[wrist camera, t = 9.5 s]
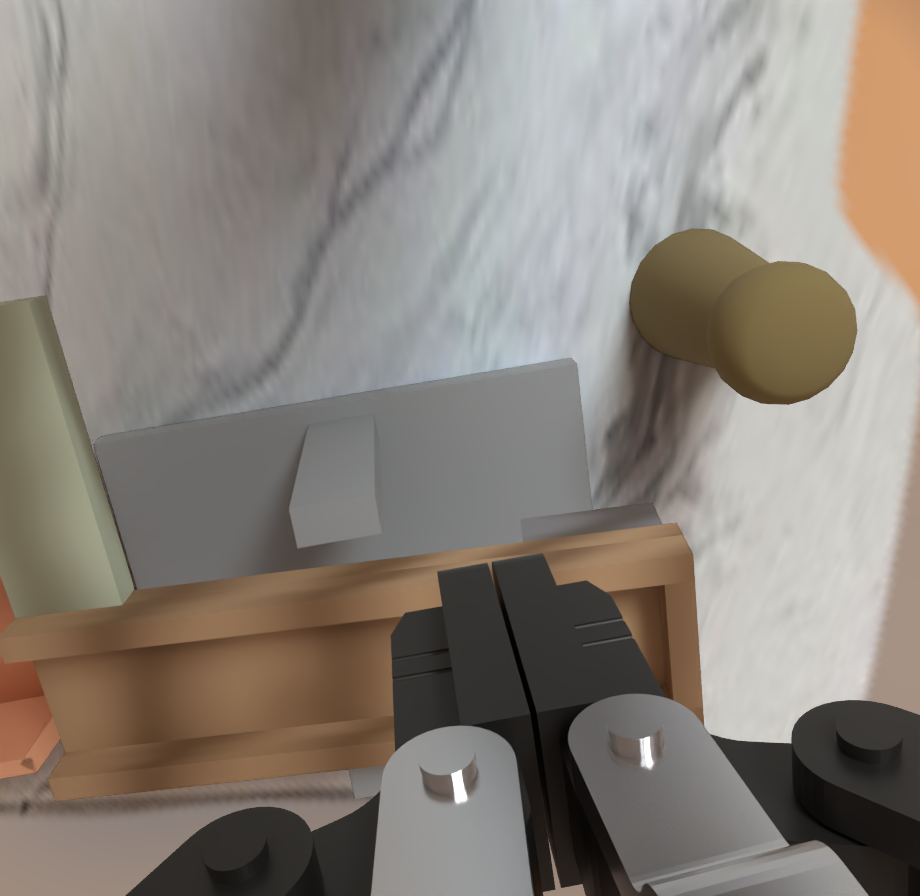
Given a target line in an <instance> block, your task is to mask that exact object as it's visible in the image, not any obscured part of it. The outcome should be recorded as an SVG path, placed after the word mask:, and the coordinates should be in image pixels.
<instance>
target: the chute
mask: <svg viewBox="0 0 920 896" xmlns="http://www.w3.org/2000/svg"><path fill="white" fill-rule="evenodd" d="M520 520H521V529H522V538H523V542H518V543H510V544H502V545H494V546H486V547H478V548H470V549H462V550H454V551H446V552H438V553H430V554H422V555H414V556H406V557H397V558H389V559H381V560H373V561H365V562H357V563H349V564H341V565H333V566H325V567H317V568H309V569H301V570H293V571H285V572H277V573H269V574H260V575H252V576H244V577H236V578H228V579H220V580H212V581H204V582H196V583H188V584H180V585H172V586H164V587H156V588H148V589H140V590H134V585H133V582H132V579H131V575H130V572H129V569H128V565H127V562H126V559H125V556H124V552H123V549H122V546H121V542H120V539H119V536H118V532H117V529H116V526H115V522H114V519H113V516H112V513H111V509H110V506H109V503H108V499H107V496H106V493H105V489H104V486H103V483H102V479H101V476H100V473H99V469H98V466H97V463H96V460H95V456H94V453H93V450H92V446H91V443H90V440H89V436H88V433H87V430H86V426H85V423H84V420H83V417H82V413H81V410H80V407H79V403H78V400H77V397H76V393H75V390H74V387H73V383H72V380H71V377H70V373H69V370H68V367H67V364H66V360H65V357H64V354H63V350H62V347H61V344H60V340H59V337H58V334H57V330H56V327H55V324H54V320H53V317H52V314H51V311H50V307H49V304H48V301H47V297H46V296H39V297H32V298H26V299H19V300H12V301H5V302H0V576H1V579H2V582H3V585H4V587H5V590H6V593H7V596H8V599H9V601H10V604H11V607H12V610H13V613H14V615H15V619H14V620H13V622H12V623H11V624H10V625H9V626H8V627H7V628H6V629H5V630H4V631H3V632H2V633H1V634H0V652H1V655H2V658H3V661H4V663H5V664H8V663H16V662H24V661H33V663H34V666H35V669H36V672H37V675H38V677H39V680H40V683H41V686H42V689H43V692H44V694H45V697H46V700H47V703H48V706H49V708H50V711H51V714H52V717H53V720H54V722H55V725H56V728H57V731H58V734H59V736H60V739H61V742H62V745H63V748H64V750H65V754H64V755H63V757H62V758H61V760H60V761H59V763H58V764H57V766H56V767H55V769H54V770H53V772H52V773H51V775H50V776H49V778H48V779H47V780H48V783H49V785H50V788H51V791H52V793H53V796H54V799H55V801H62V800H71V799H80V798H89V797H99V796H108V795H117V794H126V793H135V792H145V791H154V790H163V789H172V788H181V787H191V786H200V785H209V784H218V783H227V782H237V781H246V780H255V779H264V778H273V777H283V776H292V775H301V774H310V773H320V772H329V771H338V770H347V769H356V768H366V767H375V766H384V765H386V764H387V762H388V761H389V759H390V758H391V756H392V755H393V754H394V753H395V736H394V710H393V684H392V683H393V679H392V658H391V634H392V632H393V631H394V629H395V628H396V626H397V624H398V623H399V621H400V620H401V618H402V617H403V615H404V613H406V612H412V611H417V610H423V609H429V608H434V607H440V606H442V601H441V595H440V588H439V582H438V575H437V571H442V570H448V569H453V568H459V567H465V566H470V565H476V564H482V563H488V565H489V569H490V572H491V576H492V579H493V574H492V561H498V560H504V559H509V558H515V557H521V556H526V555H532V554H538V553H543V554H544V556H545V559H546V561H547V563H548V566H549V568H550V570H551V573H552V575H553V577H554V580H555V582H556V584H557V585H563V584H569V583H574V582H580V581H586V580H587V581H589V582H590V583H592V584H593V585H595V586H597V587H598V588H600V589H601V590H603V591H604V592H606V593H608V594H609V595H611V596H612V598H613V600H614V602H615V604H616V606H617V607H618V609H619V611H620V613H621V615H622V617H623V621H625V622H626V624H627V626H628V628H629V630H630V632H631V633H632V637H633V639H635V641H636V643H637V644H638V646H639V648H640V650H641V652H642V654H643V656H644V657H645V659H646V661H647V663H648V665H649V667H650V669H651V670H652V672H653V674H654V676H655V678H656V680H657V682H658V683H659V685H660V687H661V689H662V691H663V693H664V695H665V696H666V698H668V699H670V700H673V701H675V702H678V703H680V704H681V705H683V706H685V707H686V708H688V709H689V710H690V711H692V712H693V713H694V714H695V715H696V716H697V718H698V719H699V720H700V721H701V723H702V724H703V726H704V716H703V701H702V685H701V670H700V654H699V638H698V623H697V607H696V592H695V576H694V561H693V553H692V551H691V549H690V547H689V545H688V544H687V542H686V540H685V538H684V536H683V534H682V532H681V530H680V528H679V526H678V524H677V523H671V524H662V522H661V520H660V518H659V516H658V514H657V512H656V510H655V507H654V505H653V503H644V504H636V505H628V506H620V507H612V508H604V509H596V510H589V511H581V512H573V513H565V514H557V515H549V516H541V517H533V518H525V519H520ZM493 583H494V581H493Z"/></svg>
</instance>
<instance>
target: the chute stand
mask: <svg viewBox="0 0 920 896" xmlns="http://www.w3.org/2000/svg"><path fill="white" fill-rule="evenodd" d="M94 448H95V451H96V454H97V458H98V461H99V464H100V468H101V471H102V474H103V478H104V481H105V484H106V487H107V491H108V494H109V497H110V501H111V504H112V507H113V511H114V514H115V517H116V521H117V524H118V527H119V531H120V534H121V537H122V541H123V544H124V547H125V551H126V554H127V557H128V561H129V564H130V567H131V571H132V574H133V577H134V580H135V584H136V587H137V590H140V589H148V588H156V587H164V586H172V585H180V584H188V583H196V582H204V581H212V580H220V579H228V578H236V577H244V576H252V575H260V574H269V573H277V572H285V571H293V570H301V569H309V568H317V567H325V566H333V565H341V564H349V563H357V562H365V561H373V560H381V559H389V558H397V557H406V556H414V555H422V554H430V553H438V552H446V551H454V550H462V549H470V548H478V547H486V546H494V545H502V544H510V543H518V542H523V538H522V529H521V520H520V519H525V518H533V517H541V516H549V515H557V514H565V513H573V512H581V511H589V510H592V502H591V492H590V483H589V473H588V464H587V454H586V444H585V435H584V425H583V416H582V406H581V397H580V387H579V377H578V368H577V363H576V362H575V361H574V360H573V359H572V358H567V359H561V360H555V361H549V362H543V363H537V364H531V365H525V366H519V367H513V368H507V369H501V370H495V371H489V372H483V373H477V374H471V375H465V376H459V377H453V378H447V379H441V380H435V381H429V382H423V383H417V384H411V385H405V386H399V387H393V388H387V389H381V390H375V391H369V392H363V393H357V394H351V395H345V396H339V397H333V398H327V399H321V400H315V401H309V402H303V403H297V404H291V405H285V406H279V407H273V408H267V409H261V410H255V411H249V412H243V413H237V414H231V415H225V416H219V417H213V418H207V419H201V420H195V421H189V422H183V423H177V424H171V425H165V426H159V427H153V428H147V429H141V430H135V431H129V432H123V433H117V434H111V435H105V436H101V437H100V438H99V439H98V440H97V441H96V442H95V443H94ZM385 766H386V765H384V766H375V767H366V768H356V769H348V770H349V775H350V779H351V783H352V788H353V792H354V796H355V799H360V798H365V797H370V796H375V795H376V794H377V793H378V792H379V791H380V790H381V782H382V775H383V771H384V768H385Z"/></svg>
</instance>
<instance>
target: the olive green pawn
mask: <svg viewBox="0 0 920 896" xmlns="http://www.w3.org/2000/svg"><path fill="white" fill-rule="evenodd" d="M630 307H631V312H632V317H633V322H634V324H635V326H636V327H637V329H638V331H639V332H640V334H641V336H642V338H643V339H644V340H645V341H646V342H648V343H649V344H650V345H651V346H652V347H653V348H655V349H656V350H657V351H659V352H662V353H664V354H667V355H669V356H672V357H675V358H678V359H682V360H686V361H689V362H693V363H697V364H701V365H704V366H708V367H712V368H716V370H717V372H718V374H719V375H720V377H721V379H722V380H723V381H724V382H726V383H727V384H728V385H729V386H730V387H731V388H733V389H734V390H735V391H736V392H737V393H739V394H740V395H742V396H743V397H746V398H749V399H751V400H754V401H757V402H759V403H763V404H787V405H789V404H793V403H796V402H800V401H803V400H807V399H810V398H811V397H813V396H815V395H816V394H818V393H819V392H821V391H823V390H824V389H826V388H828V387H829V386H830V385H831V384H832V382H833V381H834V380H835V379H836V378H837V377H838V376H839V375H840V374H841V373H842V372H843V371H844V369H845V367H846V365H847V363H848V361H849V359H850V357H851V355H852V353H853V349H854V344H855V339H856V334H857V323H856V314H855V308H854V306H853V304H852V302H851V300H850V298H849V296H848V294H847V292H846V290H845V289H844V288H843V287H842V286H840V285H839V284H838V283H837V282H836V281H835V280H834V279H833V278H832V277H831V276H830V275H829V274H828V273H827V272H825V271H823V270H820V269H818V268H815V267H813V266H811V265H808V264H805V263H800V262H782V261H777V262H774V263H769V262H767V261H766V260H764V259H763V258H761V257H760V256H758V255H757V254H755V253H754V252H752V251H751V250H749V249H748V248H746V247H745V246H743V245H742V244H740V243H739V242H737V241H736V240H734V239H733V238H731V237H729V236H727V235H724V234H722V233H719V232H717V231H715V230H710V229H689V230H686V231H682V232H679V233H675V234H672V235H670V236H669V237H667V238H666V239H664V240H663V241H661V242H660V243H658V244H657V245H655V246H654V247H653V248H652V250H651V251H650V252H649V253H648V254H647V255H646V257H645V258H644V259H643V260H642V261H641V263H640V265H639V267H638V270H637V272H636V274H635V276H634V279H633V281H632V287H631V296H630Z"/></svg>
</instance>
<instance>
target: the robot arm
mask: <svg viewBox="0 0 920 896" xmlns="http://www.w3.org/2000/svg"><path fill="white" fill-rule="evenodd" d="M492 574H493V579H492V576H491V572H490V569H489V565H488V563H482V564H476V565H470V566H465V567H459V568H453V569H448V570H442V571H437V575H438V582H439V588H440V595H441V601H442V606H440V607H434V608H429V609H423V610H417V611H412V612H406V613H404V615H403V617H402V618H401V620H400V621H399V623H398V624H397V626H396V628H395V629H394V631H393V632H392V634H391V658H392V679H393V683H392V684H393V710H394V736H395V753H394V754H393V755H392V756H391V758H390V759H389V761H388V762H387V764H386V766H385V768H384V771H383V775H382V782H381V790H380V791H379V792H378V793H377V794H376V795H375V796H374V798H372V799H371V800H370V801H369V802H367V803H366V804H365V805H364V806H362V807H361V808H359V809H358V810H356V811H354V812H353V813H351V814H349V815H347V816H345V817H343V818H341V819H339V820H337V821H334V822H332V823H330V824H328V825H326V826H323V827H321V828H319V829H317V830H314V831H312V832H311V831H310V828H309V827H308V825H307V824H306V822H305V821H304V820H303V819H302V818H301V817H299V816H298V815H296V814H295V813H293V812H291V811H288V810H285V809H282V808H275V807H256V808H249V809H244V810H241V811H237V812H233V813H231V814H228V815H226V816H223V817H221V818H219V819H217V820H215V821H213V822H211V823H209V824H208V825H206V826H205V827H203V828H202V829H200V830H199V831H198V832H196V833H195V834H194V835H193V836H191V837H190V838H189V839H188V840H187V841H186V842H185V843H183V844H182V845H181V846H180V847H179V848H178V849H177V850H176V851H175V852H173V853H172V854H171V855H170V856H169V857H168V858H167V859H166V860H165V861H163V862H162V863H161V864H160V865H159V866H158V867H157V868H156V869H155V870H154V871H153V872H151V873H150V874H149V875H148V876H147V877H146V878H145V879H143V880H142V881H141V882H140V883H139V884H138V885H137V886H136V887H135V888H134V889H132V891H130V892H129V893H128V894H127V895H126V896H543V892H545V891H550V890H555V884H554V877H553V870H552V863H551V855H550V849H549V843H548V842H550V846H551V850H552V854H553V858H554V862H555V866H556V869H557V874H558V878H559V881H560V885H561V888H564V887H569V886H574V885H579V884H583V887H584V891H585V894H586V896H920V715H918V714H915V713H912V712H909V711H906V710H903V709H900V708H897V707H894V706H890V705H887V704H882V703H877V702H872V701H861V700H846V701H836V702H831V703H827V704H823V705H820V706H818V707H815V708H813V709H811V710H809V711H808V712H806V713H805V714H804V715H802V716H801V717H800V718H799V719H798V721H797V722H796V724H795V725H794V728H793V731H792V744H789V743H766V742H747V741H736V740H731V739H726V738H721V737H718V736H714V735H711V734H709V733H708V731H707V730H706V728H705V727H704V726H703V724H702V723H701V721H700V720H699V719H698V718H697V716H696V715H695V714H694V713H693V712H692V711H690V710H689V709H688V708H686V707H685V706H683V705H681V704H680V703H678V702H675V701H673V700H670V699H668V698H666V696H665V695H664V693H663V691H662V689H661V687H660V685H659V683H658V682H657V680H656V678H655V676H654V674H653V672H652V670H651V669H650V667H649V665H648V663H647V661H646V659H645V657H644V656H643V654H642V652H641V650H640V648H639V646H638V644H637V643H636V641H635V639H633V637H632V633H631V632H630V630H629V628H628V626H627V624H626V622H625V621H623V617H622V615H621V613H620V611H619V609H618V607H617V606H616V604H615V602H614V600H613V598H612V596H611V595H609V594H608V593H606V592H604V591H603V590H601V589H600V588H598V587H597V586H595V585H593V584H592V583H590V582H589V581H587V580H586V581H580V582H574V583H569V584H563V585H557V584H556V582H555V580H554V577H553V575H552V573H551V570H550V568H549V566H548V563H547V561H546V559H545V556H544V554H543V553H538V554H532V555H526V556H521V557H515V558H509V559H504V560H498V561H492ZM493 581H494V583H493ZM548 839H549V841H548Z"/></svg>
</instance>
